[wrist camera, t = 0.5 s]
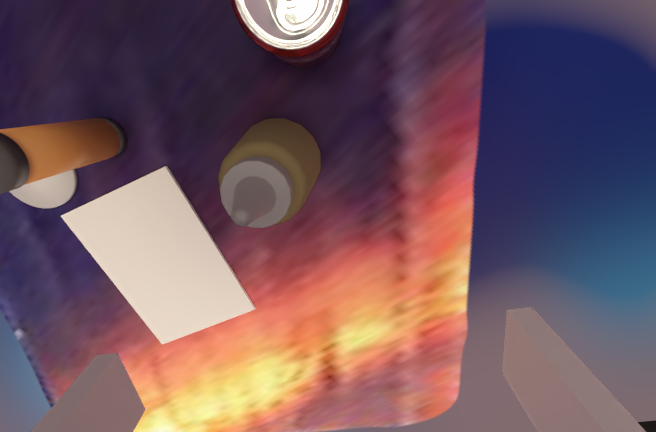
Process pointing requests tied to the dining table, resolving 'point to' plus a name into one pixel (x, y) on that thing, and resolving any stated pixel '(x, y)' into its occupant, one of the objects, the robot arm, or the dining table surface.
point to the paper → (160, 256)
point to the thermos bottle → (56, 149)
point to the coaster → (49, 190)
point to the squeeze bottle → (269, 173)
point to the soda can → (293, 27)
